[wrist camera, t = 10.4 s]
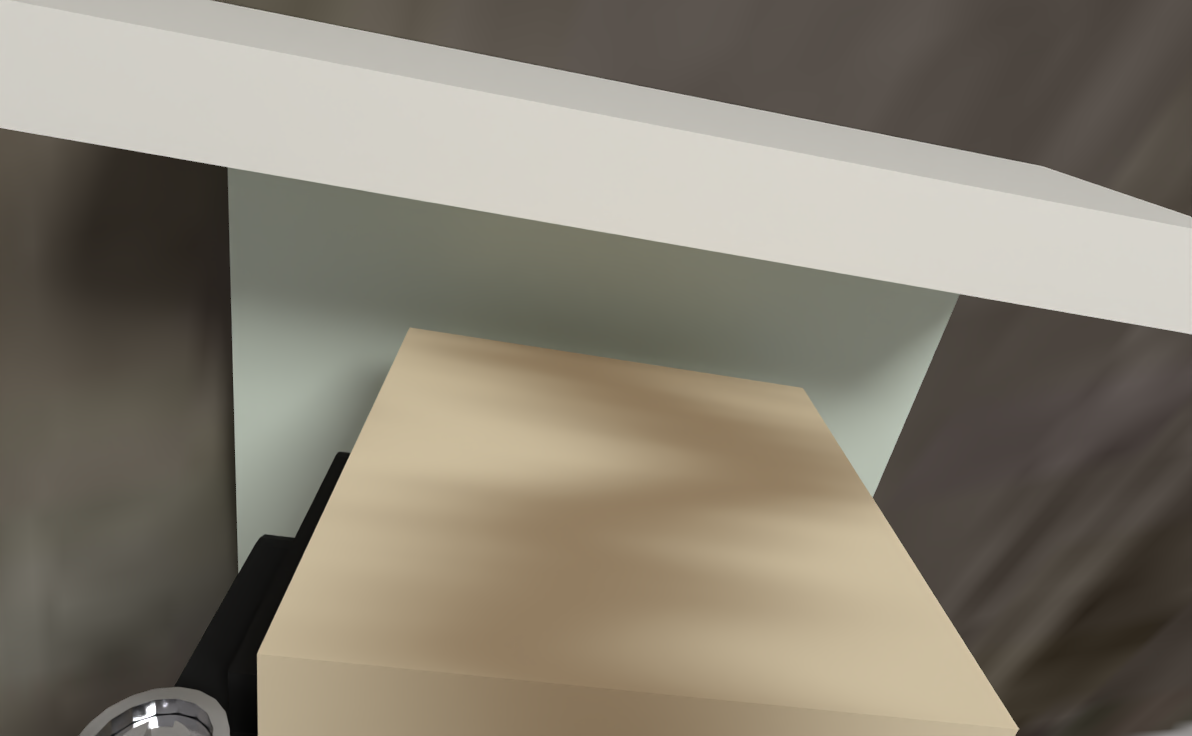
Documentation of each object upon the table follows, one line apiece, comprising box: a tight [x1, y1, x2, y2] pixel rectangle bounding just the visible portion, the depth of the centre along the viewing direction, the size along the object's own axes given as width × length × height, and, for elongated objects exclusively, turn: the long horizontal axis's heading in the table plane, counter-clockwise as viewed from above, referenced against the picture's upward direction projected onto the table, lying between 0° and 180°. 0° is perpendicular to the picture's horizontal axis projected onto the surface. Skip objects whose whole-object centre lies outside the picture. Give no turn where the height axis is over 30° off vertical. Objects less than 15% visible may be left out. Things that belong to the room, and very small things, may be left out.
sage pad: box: [228, 167, 960, 573], centre depth 14 cm, size 12×9×1 cm
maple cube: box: [257, 327, 1019, 736], centre depth 10 cm, size 6×6×6 cm
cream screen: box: [0, 0, 1192, 334], centre depth 10 cm, size 14×1×4 cm, turn 79°
